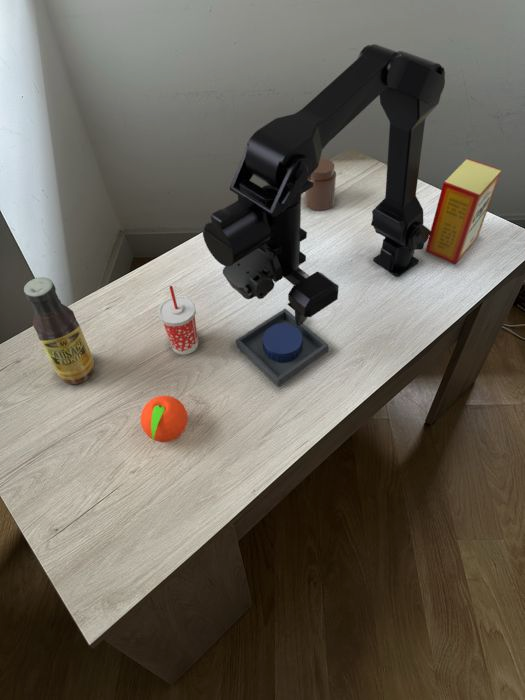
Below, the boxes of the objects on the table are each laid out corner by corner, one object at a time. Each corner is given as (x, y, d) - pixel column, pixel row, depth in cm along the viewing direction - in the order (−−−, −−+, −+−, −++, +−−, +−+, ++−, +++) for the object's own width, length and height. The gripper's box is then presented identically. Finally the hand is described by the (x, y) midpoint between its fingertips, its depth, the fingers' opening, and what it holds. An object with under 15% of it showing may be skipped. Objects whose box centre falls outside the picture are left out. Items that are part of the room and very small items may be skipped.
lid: (280, 369, 86) (280, 360, 84) (255, 345, 90) (254, 336, 88) (310, 348, 89) (311, 339, 87) (285, 326, 92) (285, 317, 90)
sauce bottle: (64, 392, 86) (15, 310, 70) (56, 365, 89) (6, 282, 74) (103, 376, 87) (62, 293, 72) (93, 351, 91) (52, 266, 75)
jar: (317, 189, 117) (319, 153, 110) (339, 201, 115) (343, 164, 108) (298, 202, 115) (299, 166, 108) (321, 214, 112) (323, 178, 105)
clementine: (182, 459, 77) (173, 436, 71) (137, 453, 78) (126, 429, 72) (195, 414, 82) (188, 388, 76) (153, 408, 83) (144, 383, 77)
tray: (285, 315, 94) (285, 308, 93) (328, 351, 88) (328, 344, 87) (236, 346, 90) (235, 339, 89) (277, 387, 84) (277, 380, 83)
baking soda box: (447, 226, 108) (468, 156, 95) (477, 239, 105) (502, 168, 92) (425, 251, 103) (443, 180, 91) (455, 264, 100) (479, 193, 88)
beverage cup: (179, 326, 93) (165, 268, 82) (209, 337, 92) (198, 279, 81) (161, 351, 90) (143, 294, 79) (191, 362, 88) (177, 306, 77)
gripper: (189, 219, 70) (203, 299, 83) (277, 293, 61) (279, 371, 73) (253, 186, 75) (258, 268, 87) (345, 251, 65) (336, 332, 77)
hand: (280, 307), depth 81 cm, fingers open, 9 cm apart
